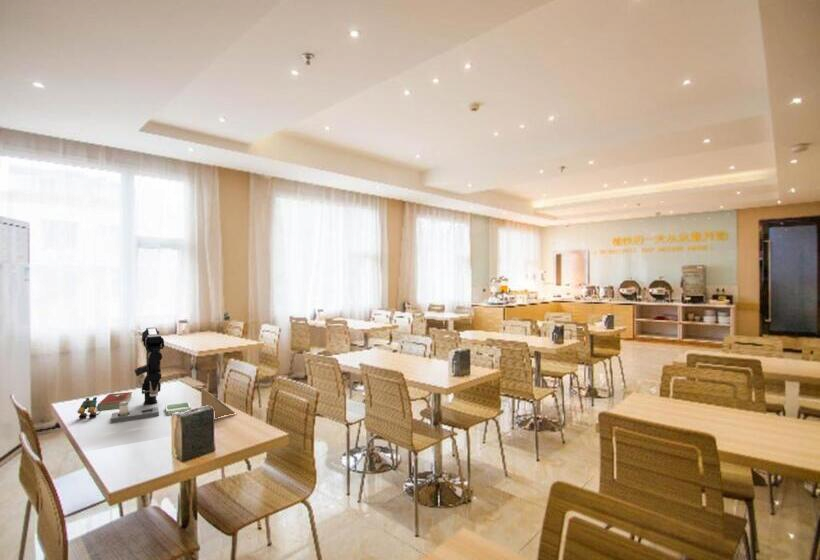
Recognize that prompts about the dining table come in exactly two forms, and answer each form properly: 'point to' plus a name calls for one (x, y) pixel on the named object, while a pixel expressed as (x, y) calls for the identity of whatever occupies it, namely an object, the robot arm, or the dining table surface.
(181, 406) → the parts tray
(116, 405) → the hardcover book
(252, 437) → the dining table surface
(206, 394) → the sandwich container
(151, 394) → the fuse
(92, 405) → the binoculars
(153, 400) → the robot arm
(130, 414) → the fuse block
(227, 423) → the dining table surface
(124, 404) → the fuse
